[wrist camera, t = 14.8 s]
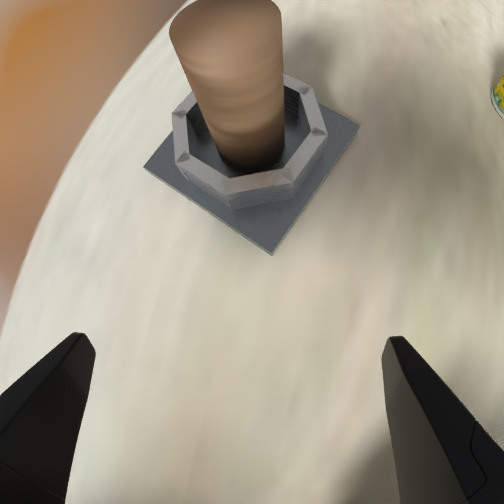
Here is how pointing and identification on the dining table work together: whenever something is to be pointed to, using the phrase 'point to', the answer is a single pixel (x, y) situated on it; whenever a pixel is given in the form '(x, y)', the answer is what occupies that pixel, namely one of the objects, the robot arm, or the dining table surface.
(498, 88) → the supplement bottle
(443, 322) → the dining table surface
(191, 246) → the dining table surface
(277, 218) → the dock
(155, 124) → the dining table surface
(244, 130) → the peg
